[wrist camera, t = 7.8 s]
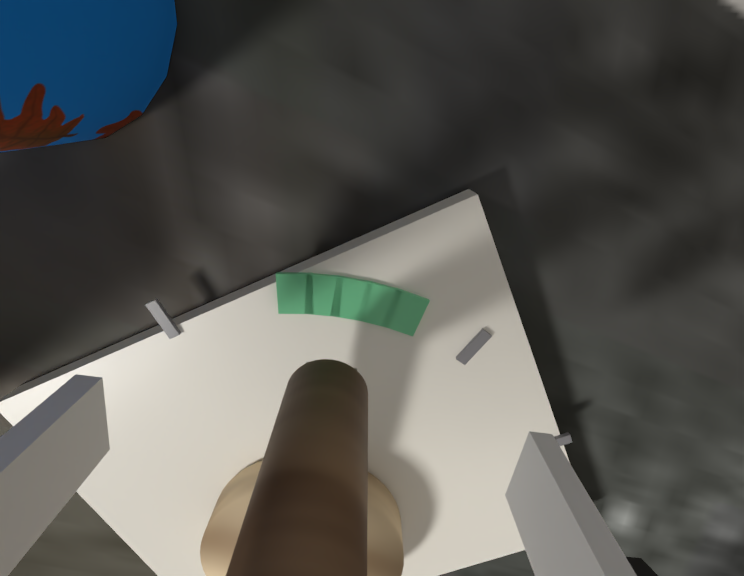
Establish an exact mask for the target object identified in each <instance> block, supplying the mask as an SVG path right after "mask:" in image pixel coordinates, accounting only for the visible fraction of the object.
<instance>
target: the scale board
mask: <svg viewBox="0 0 744 576" xmlns="http://www.w3.org/2000/svg"><path fill="white" fill-rule="evenodd" d="M145 305H146V307H147V308H148V310H149V311H150V312H151V314H152V315H153V317H154V318H155V319H156V321H157V322H158V324H159V325H157V326H155V327H153V328H150V329H148V330H146V331H143V332H141V333H139V334H137V335H134V336H132V337H130V338H127V339H125V340H123V341H121V342H118V343H116V344H114V345H111V346H109V347H107V348H105V349H102V350H100V351H98V352H96V353H93V354H91V355H89V356H86V357H84V358H82V359H80V360H77V361H75V362H73V363H70V364H68V365H66V366H64V367H61V368H59V369H57V370H55V371H52V372H50V373H48V374H45V375H43V376H41V377H39V378H36V379H34V380H32V381H29V382H27V383H25V384H23V385H20V386H18V387H17V388H16V389H14V390H13V391H11V392H10V393H9V394H7V395H6V396H5V397H3V398H2V399H1V400H0V413H1V414H2V415H3V416H4V417H5V418H6V419H7V420H8V421H9V422H10V423H11V424H12V426H15V425H16V424H17V423H18V422H19V421H21V420H22V419H23V418H24V417H25V416H26V415H28V414H29V413H30V412H31V411H32V410H34V409H35V408H36V407H37V406H38V405H40V404H41V403H42V402H43V401H44V400H46V399H47V398H48V397H49V396H50V395H52V394H53V393H54V392H55V391H56V390H58V389H59V388H60V387H61V386H62V385H63V384H65V383H66V382H67V381H68V380H69V379H71V378H72V377H73V376H74V375H75V374H78V375H86V376H94V377H102V378H103V387H104V397H105V406H106V416H107V426H108V435H109V445H110V450H109V451H108V452H107V454H106V455H105V456H104V457H103V459H102V460H101V461H100V462H99V464H98V465H97V466H96V467H95V469H94V470H93V471H92V472H91V474H90V475H89V476H88V477H87V478H86V480H85V481H84V482H83V483H82V485H81V486H80V487H79V488H78V490H77V491H76V492H77V493H78V494H79V495H80V496H81V497H82V498H83V499H84V500H85V501H86V502H87V503H88V504H89V505H90V506H91V507H92V508H93V509H94V510H95V511H96V512H97V513H98V514H99V515H100V516H101V517H102V518H103V519H104V521H105V522H106V523H107V524H108V525H109V526H110V527H111V528H112V529H113V530H114V531H115V532H116V533H117V534H118V535H119V536H120V537H121V538H122V539H123V540H124V541H125V542H126V543H127V544H128V545H129V546H130V547H131V548H132V549H133V550H134V552H135V553H136V554H137V555H138V556H139V557H140V558H141V559H142V560H143V561H144V562H145V563H146V564H147V565H148V566H149V567H150V568H151V569H152V570H153V571H154V572H155V573H156V574H157V575H158V576H206V575H205V573H204V571H203V568H202V564H201V559H200V546H201V541H202V538H203V534H204V532H205V529H206V527H207V525H208V522H209V520H210V517H211V515H212V512H213V510H214V507H215V505H216V503H217V500H218V498H219V496H220V494H221V492H222V490H223V489H224V487H225V486H226V485H227V483H228V482H229V481H230V480H231V479H232V478H233V477H234V476H235V475H237V474H238V473H239V472H241V471H242V470H244V469H245V468H247V467H249V466H251V465H253V464H255V463H257V462H260V461H262V460H263V458H264V455H265V452H266V449H267V446H268V443H269V440H270V436H271V433H272V430H273V427H274V424H275V421H276V418H277V415H278V412H279V408H280V405H281V402H282V399H283V396H284V393H285V390H286V387H287V384H288V381H289V379H290V377H291V375H292V374H293V373H294V372H295V371H296V370H297V369H298V368H299V367H301V366H302V365H304V364H306V362H311V361H314V360H320V359H332V360H337V361H341V362H344V363H346V364H348V365H350V366H351V367H353V368H357V371H358V372H359V373H360V374H361V376H362V377H363V379H364V380H365V382H366V385H367V389H368V472H369V473H371V474H372V475H374V476H375V477H376V478H378V479H379V480H380V481H381V482H382V483H383V484H384V485H385V486H386V487H387V489H388V490H389V491H390V492H391V494H392V496H393V497H394V499H395V501H396V503H397V506H398V508H399V512H400V517H401V527H402V540H403V552H404V566H403V571H402V575H401V576H438V575H441V574H445V573H448V572H451V571H455V570H458V569H462V568H465V567H468V566H472V565H475V564H478V563H482V562H485V561H489V560H492V559H495V558H499V557H502V556H506V555H509V554H512V553H516V552H519V551H523V550H525V547H524V545H523V542H522V539H521V537H520V534H519V531H518V528H517V526H516V523H515V520H514V518H513V515H512V512H511V510H510V507H509V504H508V501H507V499H506V496H505V494H506V491H507V489H508V486H509V483H510V481H511V478H512V475H513V473H514V470H515V467H516V465H517V462H518V459H519V457H520V454H521V452H522V449H523V446H524V444H525V441H526V438H527V436H528V433H529V431H531V432H539V433H547V434H553V436H554V438H555V439H556V441H557V443H558V444H559V446H560V448H561V449H562V451H563V453H564V454H565V456H566V458H567V459H568V456H567V453H566V450H565V447H564V445H566V444H569V443H572V439H571V436H570V434H569V432H567V433H564V434H561V435H560V433H559V430H558V427H557V424H556V421H555V418H554V415H553V412H552V409H551V406H550V404H549V401H548V398H547V395H546V392H545V389H544V386H543V383H542V380H541V377H540V374H539V371H538V369H537V366H536V363H535V360H534V357H533V354H532V351H531V348H530V345H529V342H528V339H527V337H526V334H525V331H524V328H523V325H522V322H521V319H520V316H519V313H518V310H517V307H516V304H515V302H514V299H513V296H512V293H511V290H510V287H509V284H508V281H507V278H506V275H505V272H504V270H503V267H502V264H501V261H500V258H499V255H498V252H497V249H496V246H495V243H494V240H493V238H492V235H491V232H490V229H489V226H488V223H487V220H486V217H485V214H484V211H483V208H482V205H481V203H480V200H479V197H478V194H476V193H475V192H473V191H472V190H470V189H467V190H465V191H462V192H460V193H458V194H456V195H453V196H451V197H449V198H446V199H444V200H442V201H440V202H437V203H435V204H433V205H431V206H428V207H426V208H424V209H421V210H419V211H417V212H415V213H412V214H410V215H408V216H405V217H403V218H401V219H399V220H396V221H394V222H392V223H390V224H387V225H385V226H383V227H380V228H378V229H376V230H374V231H371V232H369V233H367V234H364V235H362V236H360V237H358V238H355V239H353V240H351V241H348V242H346V243H344V244H342V245H339V246H337V247H335V248H333V249H330V250H328V251H326V252H323V253H321V254H319V255H317V256H314V257H312V258H310V259H307V260H305V261H303V262H301V263H298V264H296V265H294V266H292V267H289V268H287V269H285V270H282V271H280V272H276V274H273V275H271V276H269V277H266V278H264V279H262V280H260V281H257V282H255V283H253V284H251V285H248V286H246V287H244V288H241V289H239V290H237V291H235V292H232V293H230V294H228V295H225V296H223V297H221V298H219V299H216V300H214V301H212V302H209V303H207V304H205V305H203V306H200V307H198V308H196V309H194V310H191V311H189V312H187V313H184V314H182V315H180V316H178V317H175V318H173V319H171V317H170V316H169V314H168V313H167V312H166V310H165V309H164V307H163V306H162V304H161V303H160V302H159V300H158V299H155V300H152V301H150V302H148V303H146V304H145ZM568 461H569V459H568ZM569 463H570V462H569Z"/></svg>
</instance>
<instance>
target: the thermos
mask: <svg viewBox="0 0 744 576" xmlns="http://www.w3.org/2000/svg"><path fill="white" fill-rule="evenodd" d="M176 28H177V19H176V10H175V2H174V0H0V153H1V152H8V151H15V150H22V149H30V148H37V147H44V146H51V145H59V144H66V143H73V142H79V141H86V140H93V139H100V138H106V137H108V136H109V135H111V134H112V133H114V132H116V131H117V130H119V129H120V128H122V127H123V126H125V125H127V124H128V123H130V122H131V121H133V120H134V119H136V118H138V117H139V116H141V115H142V114H143V112H144V111H145V109H146V108H147V106H148V105H149V103H150V101H151V100H152V98H153V97H154V95H155V94H156V92H157V91H158V89H159V88H160V86H161V84H162V83H163V81H164V80H165V78H166V77H167V73H168V68H169V63H170V58H171V53H172V48H173V43H174V38H175V33H176Z"/></svg>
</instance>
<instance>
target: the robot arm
mask: <svg viewBox="0 0 744 576" xmlns="http://www.w3.org/2000/svg"><path fill="white" fill-rule="evenodd" d="M109 450H110V445H109V435H108V426H107V416H106V406H105V397H104V387H103V378H102V377H94V376H86V375H78V374H75V375H74V376H73V377H72V378H71V379H69V380H68V381H67V382H66V383H65V384H63V385H62V386H61V387H60V388H59V389H58V390H56V391H55V392H54V393H53V394H52V395H50V396H49V397H48V398H47V399H46V400H44V401H43V402H42V403H41V404H40V405H38V406H37V407H36V408H35V409H34V410H32V411H31V412H30V413H29V414H28V415H26V416H25V417H24V418H23V419H22V420H21V421H19V422H18V423H17V424H16V425H15V426H13V427H12V428H11V429H10V430H9V431H7V432H6V433H5V434H4V435H3V436H1V437H0V576H8V575H9V574H10V573H11V571H12V570H13V569H14V568H15V566H16V565H17V564H18V563H19V561H20V560H21V559H22V558H23V556H24V555H25V554H26V553H27V551H28V550H29V549H30V548H31V547H32V545H33V544H34V543H35V542H36V540H37V539H38V538H39V537H40V535H41V534H42V533H43V532H44V530H45V529H46V528H47V527H48V525H49V524H50V523H51V522H52V521H53V519H54V518H55V517H56V516H57V514H58V513H59V512H60V511H61V509H62V508H63V507H64V506H65V504H66V503H67V502H68V501H69V500H70V498H71V497H72V496H73V495H74V493H75V492H76V491H77V490H78V488H79V487H80V486H81V485H82V483H83V482H84V481H85V480H86V478H87V477H88V476H89V475H90V474H91V472H92V471H93V470H94V469H95V467H96V466H97V465H98V464H99V462H100V461H101V460H102V459H103V457H104V456H105V455H106V454H107V452H108V451H109ZM505 496H506V499H507V501H508V504H509V507H510V510H511V512H512V515H513V518H514V520H515V523H516V526H517V528H518V531H519V534H520V537H521V539H522V542H523V545H524V547H525V550H526V553H527V556H528V558H529V561H530V564H531V566H532V569H533V572H534V575H535V576H658V575H657V574H656V573H655V572H654V571H653V570H652V569H651V568H650V567H649V566H648V565H647V564H646V563H645V562H644V561H643V560H642V559H641V558H632V557H625V555H624V553H623V552H622V550H621V548H620V547H619V545H618V543H617V542H616V540H615V538H614V537H613V535H612V533H611V531H610V530H609V528H608V526H607V525H606V523H605V521H604V520H603V518H602V516H601V515H600V513H599V511H598V510H597V508H596V506H595V505H594V503H593V501H592V500H591V498H590V496H589V495H588V493H587V491H586V490H585V488H584V486H583V485H582V483H581V481H580V480H579V478H578V476H577V475H576V473H575V471H574V470H573V468H572V466H571V465H570V463H569V461H568V459H567V458H566V456H565V454H564V453H563V451H562V449H561V448H560V446H559V444H558V443H557V441H556V439H555V438H554V436H553V434H547V433H539V432H531V431H529V433H528V436H527V438H526V441H525V444H524V446H523V449H522V452H521V454H520V457H519V459H518V462H517V465H516V467H515V470H514V473H513V475H512V478H511V481H510V483H509V486H508V489H507V491H506V494H505Z"/></svg>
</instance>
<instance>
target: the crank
mask: <svg viewBox="0 0 744 576" xmlns="http://www.w3.org/2000/svg"><path fill="white" fill-rule="evenodd" d="M200 559H201V564H202V568H203V571H204V573H205V575H206V576H401V575H402V571H403V566H404V552H403V540H402V527H401V517H400V512H399V508H398V506H397V503H396V501H395V499H394V497H393V496H392V494H391V492H390V491H389V490H388V489H387V487H386V486H385V485H384V484H383V483H382V482H381V481H380V480H379V479H378V478H376V477H375V476H374V475H372V474H371V473H369V472H368V389H367V385H366V382H365V380H364V379H363V377H362V376H361V374H360V373H359V372H358V371H357V368H353V367H351V366H350V365H348V364H346V363H344V362H341V361H337V360H332V359H320V360H314V361H311V362H306V364H304V365H302V366H301V367H299V368H298V369H297V370H296V371H295V372H294V373H293V374H292V375H291V377H290V379H289V381H288V384H287V387H286V390H285V393H284V396H283V399H282V402H281V405H280V408H279V412H278V415H277V418H276V421H275V424H274V427H273V430H272V433H271V436H270V440H269V443H268V446H267V449H266V452H265V455H264V458H263V460H262V461H260V462H257V463H255V464H253V465H251V466H249V467H247V468H245V469H244V470H242V471H241V472H239V473H238V474H237V475H235V476H234V477H233V478H232V479H231V480H230V481H229V482H228V483H227V485H226V486H225V487H224V489H223V490H222V492H221V494H220V496H219V498H218V500H217V503H216V505H215V507H214V510H213V512H212V515H211V517H210V520H209V522H208V525H207V527H206V529H205V532H204V534H203V538H202V541H201V546H200Z"/></svg>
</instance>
